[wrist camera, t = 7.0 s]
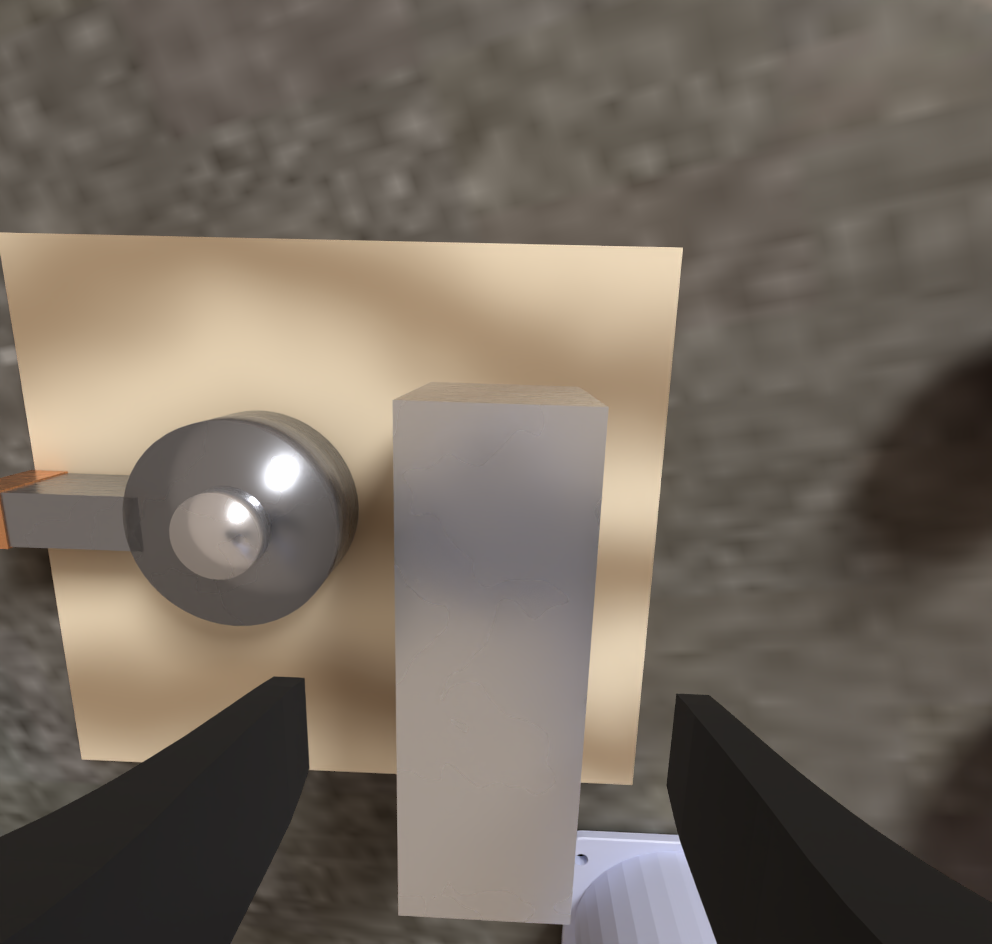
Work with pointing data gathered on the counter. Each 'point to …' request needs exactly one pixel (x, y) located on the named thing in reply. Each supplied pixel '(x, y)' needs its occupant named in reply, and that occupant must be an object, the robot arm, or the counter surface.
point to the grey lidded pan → (205, 515)
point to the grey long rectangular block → (493, 643)
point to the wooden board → (349, 428)
